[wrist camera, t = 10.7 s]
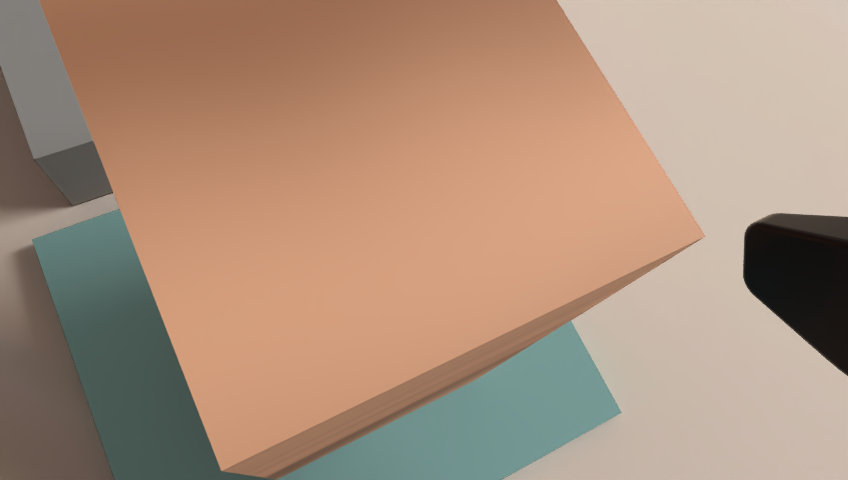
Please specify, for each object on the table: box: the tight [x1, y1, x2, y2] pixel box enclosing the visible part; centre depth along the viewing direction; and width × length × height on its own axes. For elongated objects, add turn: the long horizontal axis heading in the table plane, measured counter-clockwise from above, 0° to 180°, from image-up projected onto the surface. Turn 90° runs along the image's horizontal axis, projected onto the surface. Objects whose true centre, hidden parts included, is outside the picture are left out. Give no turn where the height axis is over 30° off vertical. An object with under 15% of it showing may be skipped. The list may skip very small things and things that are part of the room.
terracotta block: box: [39, 0, 705, 479], centre depth 11 cm, size 5×5×10 cm
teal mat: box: [32, 209, 622, 480], centre depth 16 cm, size 10×11×1 cm
